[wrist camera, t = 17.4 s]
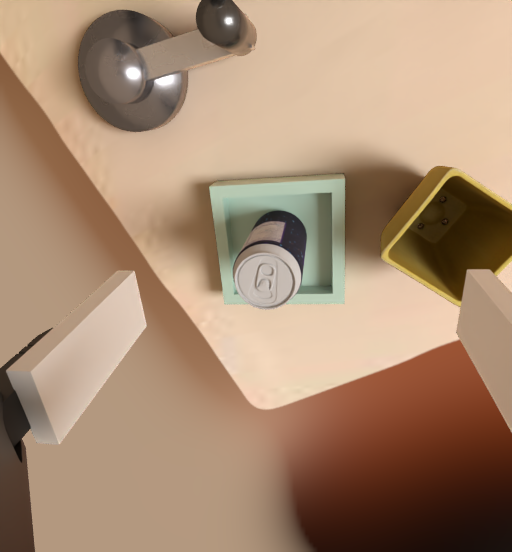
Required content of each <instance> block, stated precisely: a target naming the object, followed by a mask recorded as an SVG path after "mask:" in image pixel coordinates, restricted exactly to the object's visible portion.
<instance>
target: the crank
mask: <svg viewBox="0 0 512 552" xmlns="http://www.w3.org/2000/svg"><path fill="white" fill-rule="evenodd" d="M196 23H197V27H198V29H197V30H194V31H191V32H188V33H185V34H182V35H179V36H176V37H173V38H169V39H166V40H163V41H160V42H157V43H154V44H151V45H148V46H145V47H142V48H139V47H138V46H136V45H134V44H131V43H127V42H124V41H121V40H118V39H114V38H104V39H101V40H99V41H97V42H96V43H94V44H93V45H92V47H91V48H90V50H89V51H88V54H87V57H86V62H85V70H86V76H87V79H88V82H89V84H90V86H91V88H92V89H93V91H94V92H95V93H96V94H97V95H98V96H99V97H100V98H101V99H103V100H104V101H106V102H109V103H112V104H136V103H139V102H142V101H143V100H145V99H146V98H147V97H148V96H149V94H150V93H151V91H152V89H153V86H154V80H157V79H160V78H164V77H167V76H170V75H173V74H177V73H180V72H183V71H186V70H190V69H193V68H196V67H199V66H203V65H206V64H209V63H212V62H216V61H219V60H222V59H226V58H229V57H232V56H235V55H237V56H244V55H246V54H248V53H249V52H251V51H252V50H255V43H256V39H257V34H256V29H255V27H254V25H253V24H252V22H251V21H250V20H249V18H248V16H247V15H246V14H244V13H243V12H242V11H241V10H240V9H239V8H238V7H237V5H236V4H235V3H234V2H233V1H232V0H201V2H200V4H199V6H198V8H197V12H196Z"/></svg>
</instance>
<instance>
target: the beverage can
mask: <svg viewBox="0 0 512 552" xmlns="http://www.w3.org/2000/svg"><path fill="white" fill-rule="evenodd" d="M306 243H307V233H306V229H305V226H304V225H303V223H302V222H301V220H300V219H299V218H298V217H297V216H295V215H294V214H292V213H290V212H287V211H281V210H277V211H271V212H268V213H266V214H264V215H263V216H261V217H260V218H259V219H258V221H257V222H256V224H255V225H254V227H253V229H252V231H251V233H250V234H249V236H248V238H247V240H246V242H245V243H244V245H243V247H242V249H241V251H240V252H239V254H238V256H237V258H236V260H235V262H234V265H233V279H234V283H235V287H236V290H237V292H238V294H239V295H240V297H241V298H242V299H243V300H244V301H245V302H246V303H248V304H249V305H251V306H253V307H256V308H259V309H275V308H278V307H281V306H283V305H284V304H286V303H287V302H288V301H289V300H291V299H292V298H293V297H294V296H295V295H296V294H297V292H298V290H299V289H300V286H301V283H302V277H303V268H304V260H305V251H306Z"/></svg>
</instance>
